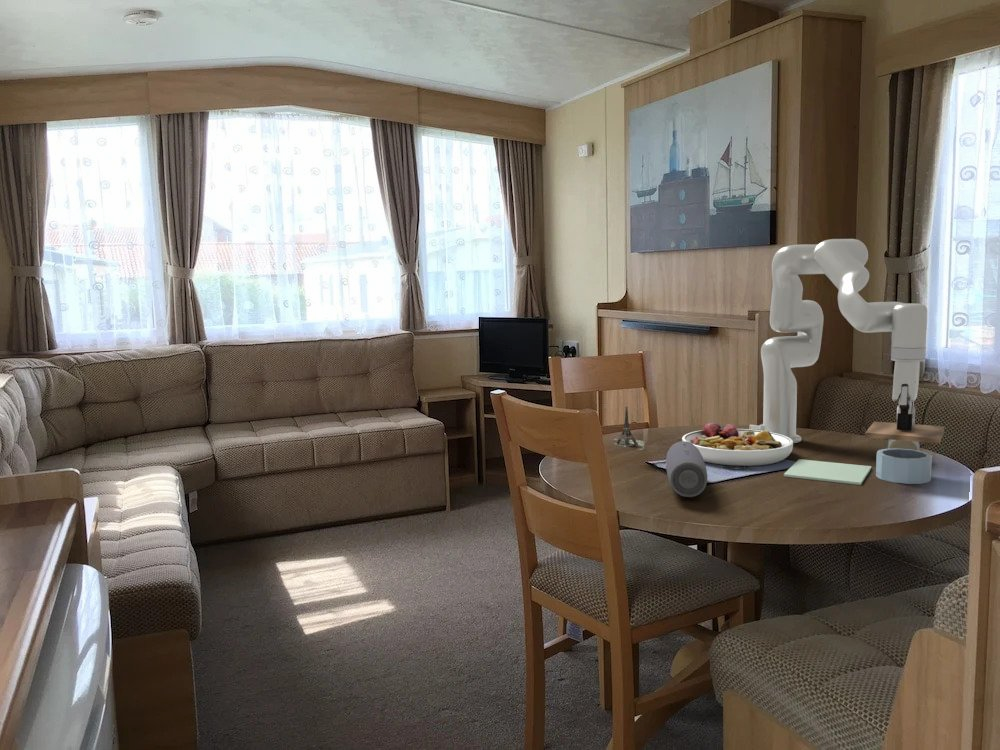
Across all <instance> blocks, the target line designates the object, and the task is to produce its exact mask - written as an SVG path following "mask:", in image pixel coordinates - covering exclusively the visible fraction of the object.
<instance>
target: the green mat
mask: <svg viewBox="0 0 1000 750" xmlns="http://www.w3.org/2000/svg"><path fill="white" fill-rule="evenodd" d="M871 470H872V466H871V465H862V464H861V465H860V464H852V463H842V462H841V463H840V462H832V461H820V460H810V459H803V458H802V459H800V458H798V459H797V461H795V463H794V464H792V465H791V466H790V468H788V469H787V470H786V471H785V472H784V473H783V477H785V478H794V479H803V480H811V481H812V480H813V481H820V482H821V481H822V482H829V483H830V482H832V483H838V484H839V483H840V484H849V485H857V486H862V484H863V482H864V481H865V479H866V478H867V476H868V475H869V473H870V471H871Z"/></svg>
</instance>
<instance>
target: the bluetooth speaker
mask: <svg viewBox="0 0 1000 750" xmlns="http://www.w3.org/2000/svg"><path fill="white" fill-rule="evenodd" d="M665 469H666V470H665V471H666V473H667V474H666V475H667V478H668V479H667V480H668V481H669V485H670V486H671V488H672V489H673V491H674V492H675V493H677V495H679V496H681V497H686V498H694V497H697V496H698V495H700V494H701V493H703V492H704V491H705V489H706V487H707V483H708V472H707V471H708V470H707V467H706V462H705V461H704V459H703V457H702V455H701V453H700V451H699V450H698V448H697V447H696V446H695V445H693V444H692V443H690V442H686V441H682V440H681V441H677V442H675V443H673V444H672V445H671V446H670V447H669V448H668V451H667V453H666V456H665Z"/></svg>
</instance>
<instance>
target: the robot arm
mask: <svg viewBox="0 0 1000 750" xmlns="http://www.w3.org/2000/svg"><path fill="white" fill-rule="evenodd" d="M868 260H869V251H868V248H867V245H865V243H863V242H862V241H861V240H860V239H857V238H856V239H855V238H831V239H825V240H822V241H821V242H819V243H815V244H809V243H808V244H807V243H806V244H805V243H804V244H792V245H786V246H783V247H781V248H779V249H778V250H777V251H776V252H775V254H774V255H773V258H772V261H771V277H772V290H771V291H772V292H771V299H770V310H769V311H770V312H769V325H770V329H771V330H773V331H774V332H777V333H783V334H784V333H786V334H789V333H797V335H794V336H793V335H789V336H788V335H787V336H774V337H770V338H768V339H767V340H766V341H764V343H763V344H761V347H760V358H761V364H762V371H763V403H762V407H763V409H762V411H763V413H762V417H763V418H762V420H763V421H762V423H761V424H759V425H758V424H757V425H756V424H749V426H748V429H749V430H759V431H767V432H768V431H769V432H772V433H777V434H781V435H784V436H787V437H789V438H791V439H792V440H793V444H797V443H800V442H801V441H802V436H800V435H798V434H797V409H798V408H797V405H798V403H797V401H798V400H797V399H798V398H797V397H798V396H797V395H798V383H797V379H796V377H795V374H794V373H793V371H792V369H793V368H805V367H810V366H814V364H815V363H817V361H818V360H819V357H820V352H821V347H822V346H821V345H822V337H823V329H824V328H823V327H824V320H825V319H824V318H825V317H824V313H823V310H822V307H821V305H820V304H819V303H818V302H817V301H814V300H811V299H810V300H809V299H804V300H803V294H804V293H803V291H804V287H803V283H802V280H801V279H800V277H799V275H825V276H826V277H827V278H828V279H829V280H830V282H832V284H833V285H834V286H835V287H836V288H837V290H838V293H837V304H838V309H839V311H840V314H841V315H842V317H844V319H846V321H847V322H848V323H849V324H850V325H851V326H852V327H853V328H854V329H855V330H857V331H858V332H861V333H867V334H868V333H889V332H891V341H890V342H891V344H890V345H891V346H890V360H891V361H893V362H894V370H893V379H892V380H893V383H892V393H891V394H892V395H891V400H892V401H893V402H896V401H897V400H898V406H899V407H898V414H897V413H896V423H897V429H898V430H908V431H911V430H912V414H911V406H913V407H915V405H914V404H915V403H914V402H915V401H916V399H917V398H918V391H919V384H920V383H919V382H920V367H921V365H920V363H921V362H926V354H927V351H926V350H927V330H928V328H927V326H928V308H927V306H926V305H925V304H923V303H908V302H907V303H905V302H901V301H873V302H867V301H866V300H865V299H864V298H863V297H862V296H861V294H859V292H860V291H861V290H863V289H864V288H865V287H866V285H867V284H868V283H869V279H870V272H869V269H868V268H866V267H865V266H866V263H867V262H868Z"/></svg>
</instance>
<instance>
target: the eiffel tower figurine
mask: <svg viewBox="0 0 1000 750" xmlns="http://www.w3.org/2000/svg"><path fill="white" fill-rule="evenodd" d="M624 408H625V413H624V425H623V429H622V432H621V434H620V435H619V437H618V438H614V439H613V440H614V441H616V442H615V443H614V445H617V446H621V447H625V448H628V447H634V446H641V447H638V448H637V450H638V451H644V449H645V444H646V441H644V440H638V439H635V438H634V434H632V432H631V431H632V430H631V428H630V424H629V412H628V409H629V408H628V404H627V402H626V405H625V407H624ZM621 441H622V442H621Z"/></svg>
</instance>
